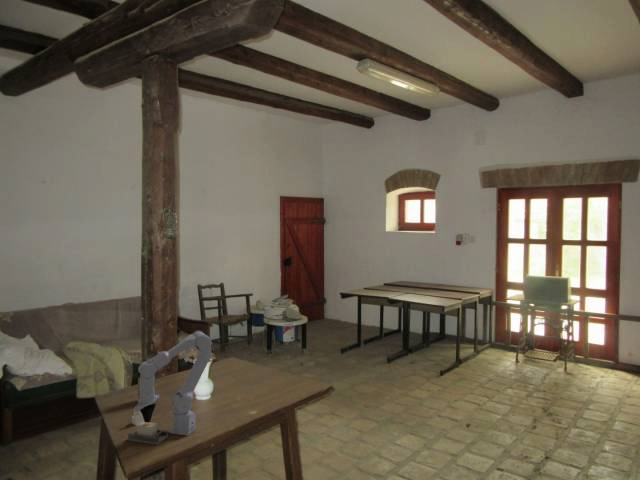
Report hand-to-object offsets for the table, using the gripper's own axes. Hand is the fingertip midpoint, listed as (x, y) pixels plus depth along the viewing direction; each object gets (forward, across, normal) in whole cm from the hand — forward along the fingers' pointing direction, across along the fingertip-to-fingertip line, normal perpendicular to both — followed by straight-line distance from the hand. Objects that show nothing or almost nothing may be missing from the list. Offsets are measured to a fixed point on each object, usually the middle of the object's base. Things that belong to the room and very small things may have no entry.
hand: (147, 421), depth 203 cm
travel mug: (+8, -34, -25) cm, 43 cm away
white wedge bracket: (+8, -12, -13) cm, 20 cm away
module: (+6, 0, 0) cm, 6 cm away
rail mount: (+7, 0, 0) cm, 7 cm away
